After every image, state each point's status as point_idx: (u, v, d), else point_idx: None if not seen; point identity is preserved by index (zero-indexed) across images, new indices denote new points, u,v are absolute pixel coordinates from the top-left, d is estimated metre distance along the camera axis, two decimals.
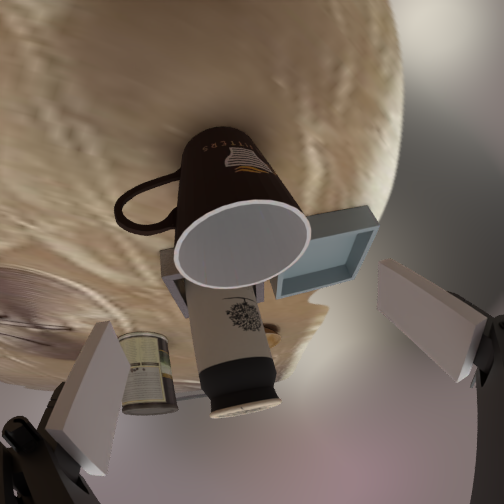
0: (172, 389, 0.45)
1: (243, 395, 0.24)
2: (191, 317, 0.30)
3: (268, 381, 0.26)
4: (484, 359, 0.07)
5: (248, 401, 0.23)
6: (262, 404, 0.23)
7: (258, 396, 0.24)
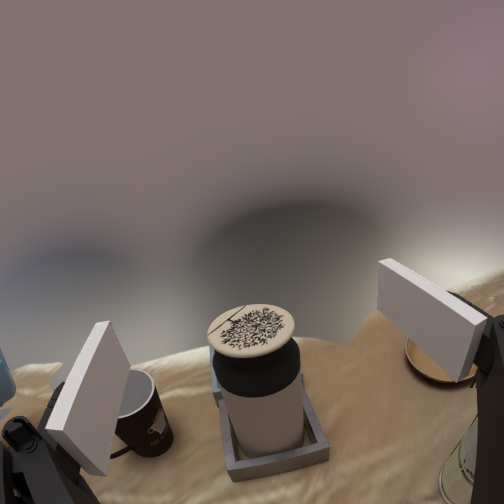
0: None
1: None
2: (252, 434, 0.24)
3: None
4: (484, 359, 0.07)
5: None
6: None
7: None
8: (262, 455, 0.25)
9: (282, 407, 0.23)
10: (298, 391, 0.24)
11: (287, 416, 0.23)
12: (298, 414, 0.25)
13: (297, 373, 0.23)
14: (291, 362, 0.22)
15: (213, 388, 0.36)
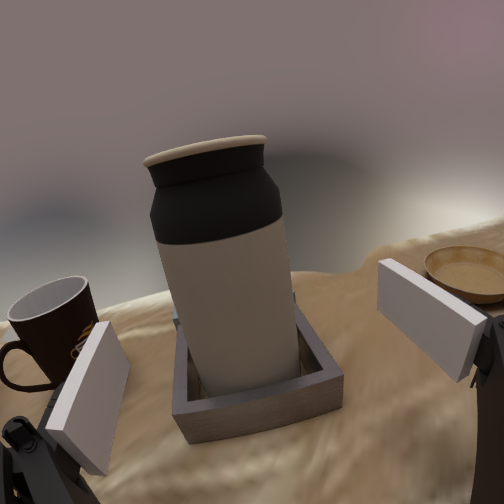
0: None
1: None
2: (211, 343, 0.16)
3: None
4: (484, 359, 0.07)
5: None
6: None
7: None
8: None
9: (255, 275, 0.15)
10: (282, 258, 0.17)
11: (266, 303, 0.16)
12: (287, 311, 0.17)
13: (277, 216, 0.16)
14: (264, 186, 0.15)
15: (174, 314, 0.28)
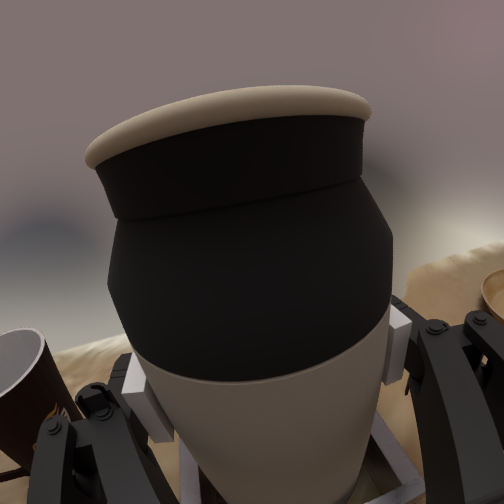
0: None
1: None
2: (245, 492, 0.07)
3: None
4: (415, 367, 0.08)
5: None
6: None
7: None
8: None
9: (345, 417, 0.06)
10: (384, 359, 0.07)
11: (351, 443, 0.07)
12: (370, 429, 0.08)
13: (391, 286, 0.07)
14: (380, 225, 0.06)
15: None
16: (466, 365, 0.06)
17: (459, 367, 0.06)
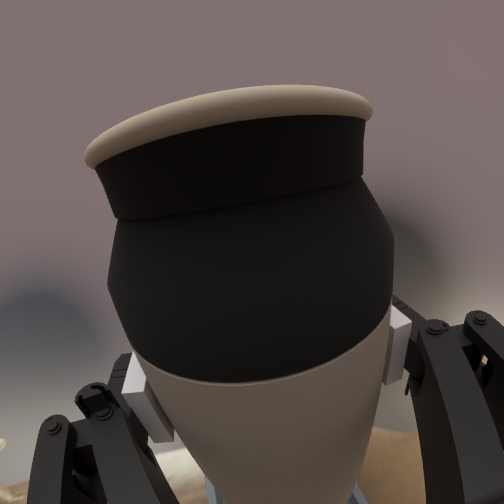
0: None
1: None
2: (245, 492, 0.07)
3: None
4: (415, 367, 0.08)
5: None
6: None
7: None
8: None
9: (345, 417, 0.06)
10: (384, 360, 0.07)
11: (351, 443, 0.07)
12: (370, 430, 0.08)
13: (391, 287, 0.07)
14: (381, 225, 0.06)
15: None
16: (466, 365, 0.06)
17: (459, 367, 0.06)
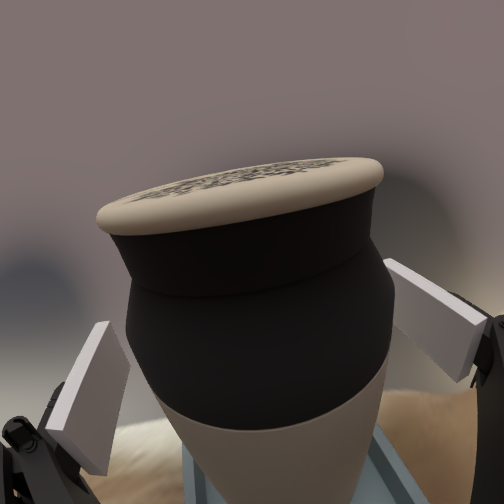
0: None
1: None
2: None
3: None
4: (484, 359, 0.07)
5: None
6: None
7: None
8: None
9: (344, 447, 0.06)
10: (381, 392, 0.08)
11: (349, 465, 0.07)
12: (367, 449, 0.09)
13: (390, 334, 0.07)
14: (384, 286, 0.06)
15: None
16: None
17: None
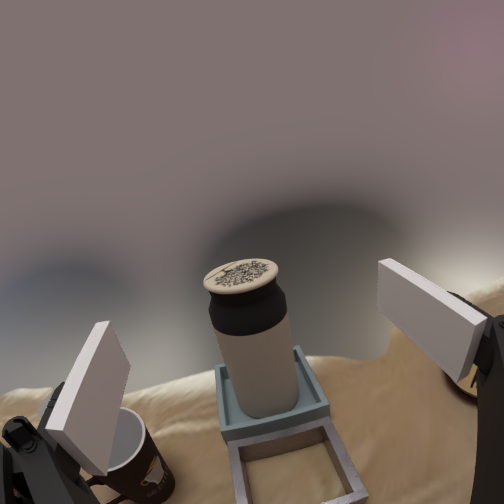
0: None
1: None
2: (247, 381, 0.28)
3: None
4: (484, 359, 0.07)
5: None
6: None
7: None
8: (258, 408, 0.29)
9: (271, 348, 0.27)
10: (286, 335, 0.28)
11: (277, 360, 0.28)
12: (289, 362, 0.29)
13: (283, 315, 0.28)
14: (276, 302, 0.27)
15: (221, 426, 0.27)
16: None
17: None
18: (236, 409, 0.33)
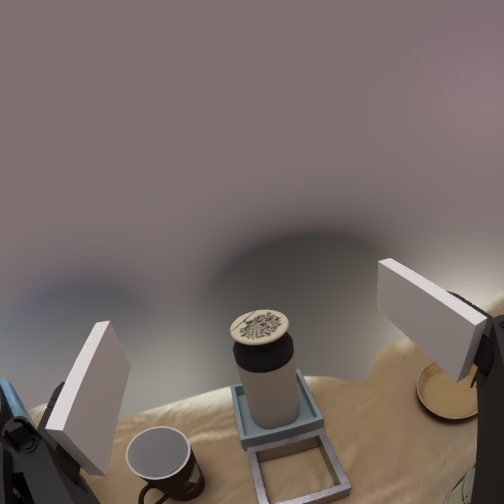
0: None
1: None
2: (261, 402, 0.36)
3: None
4: (484, 359, 0.07)
5: None
6: (232, 324, 0.37)
7: None
8: (269, 421, 0.37)
9: (281, 380, 0.34)
10: (293, 370, 0.36)
11: (285, 388, 0.35)
12: (293, 388, 0.37)
13: (291, 356, 0.35)
14: (287, 348, 0.34)
15: (240, 436, 0.35)
16: None
17: None
18: (250, 421, 0.40)
